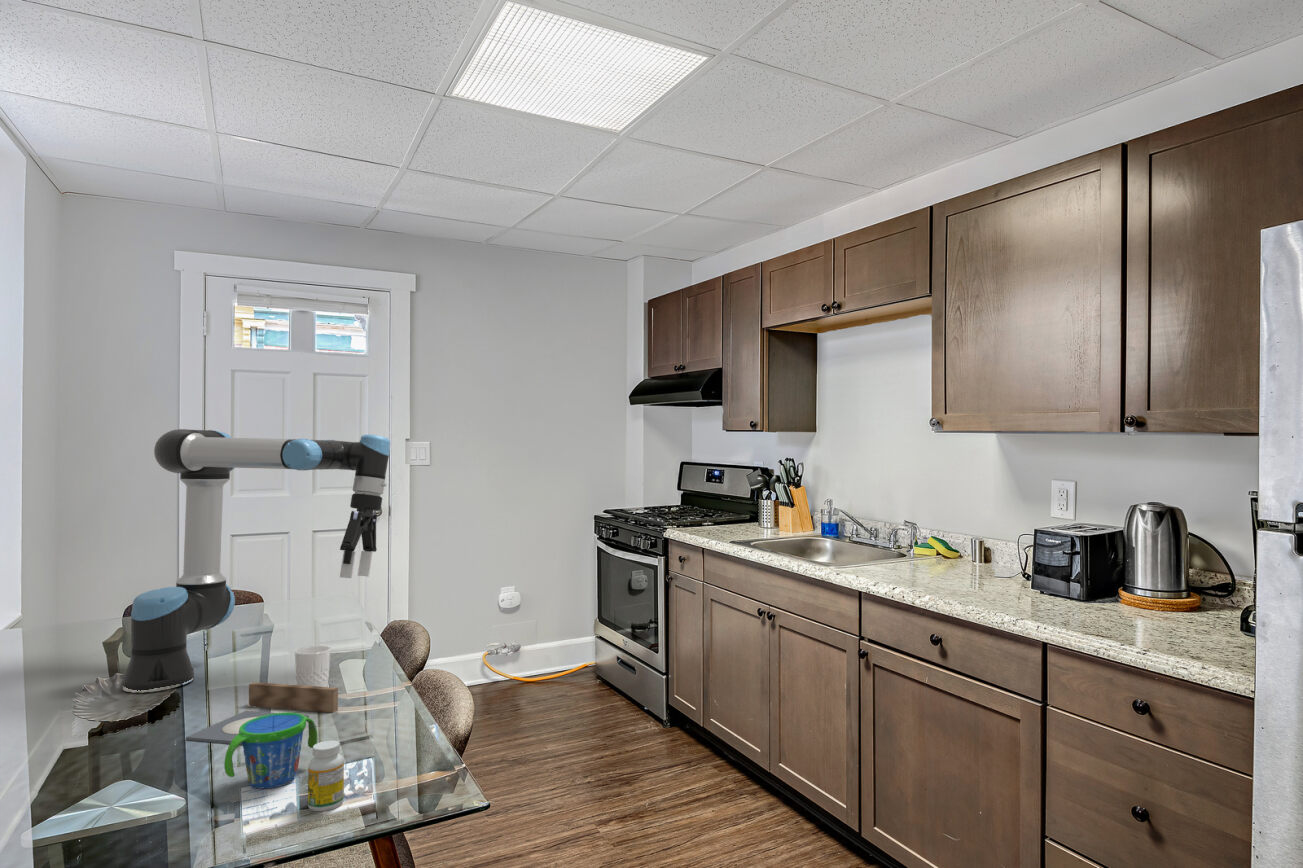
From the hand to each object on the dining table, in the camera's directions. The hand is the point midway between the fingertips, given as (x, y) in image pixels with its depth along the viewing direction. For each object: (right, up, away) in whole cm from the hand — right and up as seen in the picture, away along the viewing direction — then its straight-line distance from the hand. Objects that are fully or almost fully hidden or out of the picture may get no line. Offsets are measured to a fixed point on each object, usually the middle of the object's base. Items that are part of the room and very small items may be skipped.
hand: (354, 577), depth 189 cm
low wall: (-5, -26, -22) cm, 34 cm away
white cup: (-7, -26, -9) cm, 29 cm away
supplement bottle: (+23, -24, -69) cm, 76 cm away
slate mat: (-8, -25, -34) cm, 43 cm away
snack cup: (+10, -24, -60) cm, 65 cm away
